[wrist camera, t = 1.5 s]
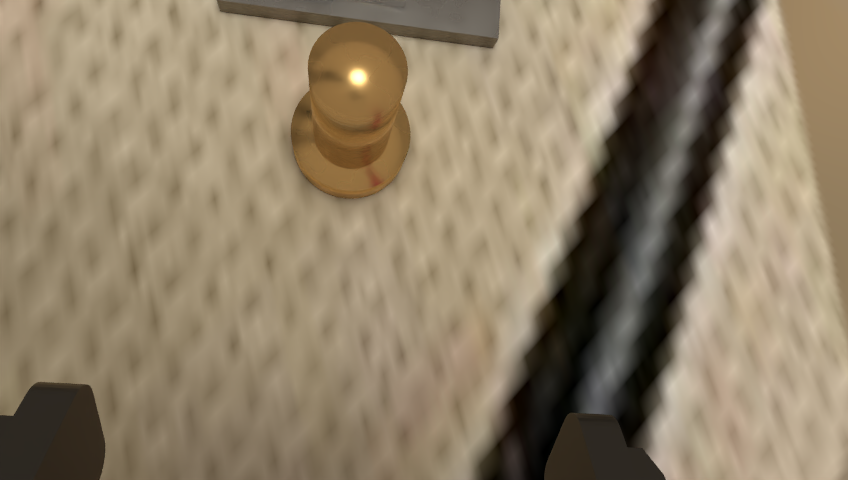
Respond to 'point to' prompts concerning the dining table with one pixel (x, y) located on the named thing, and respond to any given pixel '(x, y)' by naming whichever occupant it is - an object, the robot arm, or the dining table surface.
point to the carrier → (389, 16)
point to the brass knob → (352, 112)
